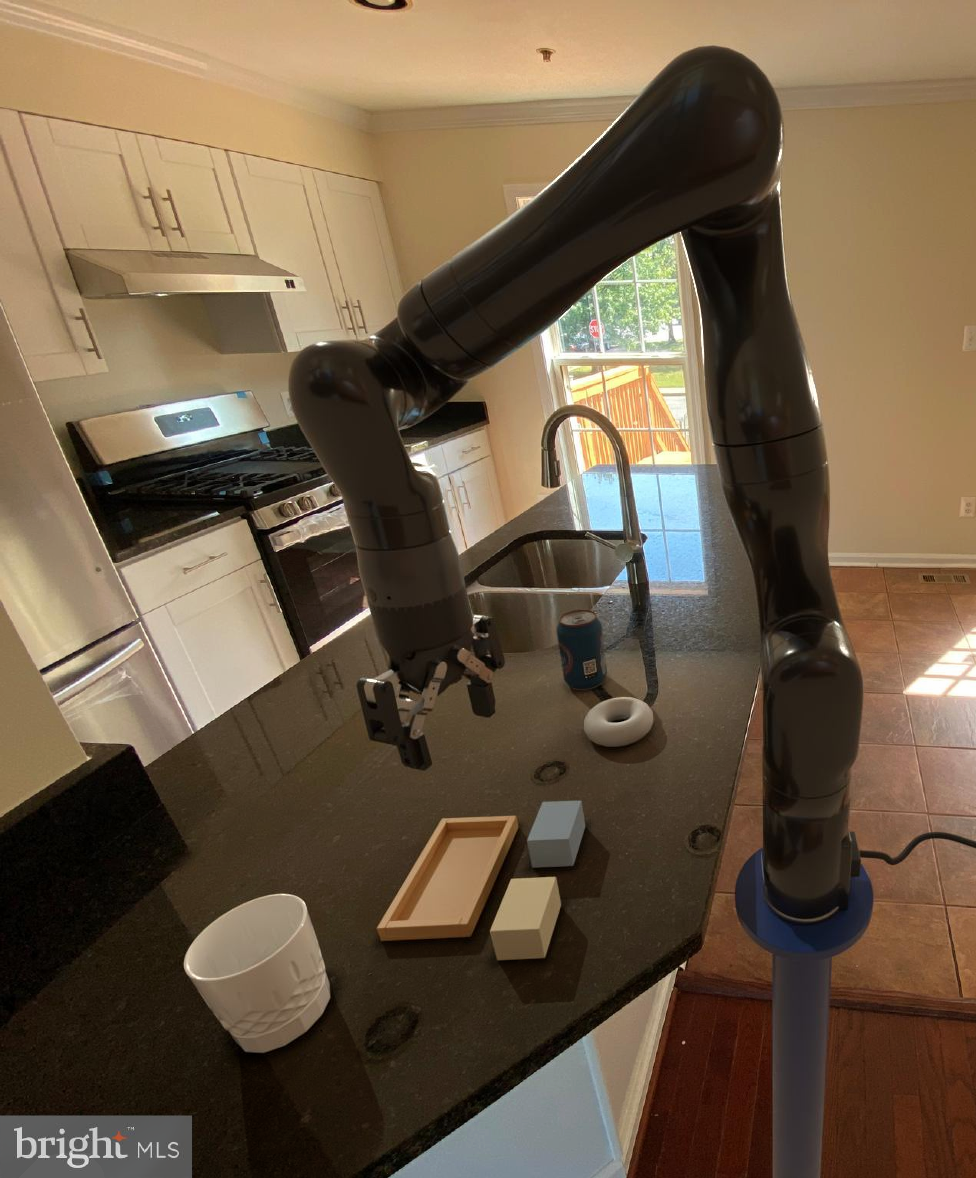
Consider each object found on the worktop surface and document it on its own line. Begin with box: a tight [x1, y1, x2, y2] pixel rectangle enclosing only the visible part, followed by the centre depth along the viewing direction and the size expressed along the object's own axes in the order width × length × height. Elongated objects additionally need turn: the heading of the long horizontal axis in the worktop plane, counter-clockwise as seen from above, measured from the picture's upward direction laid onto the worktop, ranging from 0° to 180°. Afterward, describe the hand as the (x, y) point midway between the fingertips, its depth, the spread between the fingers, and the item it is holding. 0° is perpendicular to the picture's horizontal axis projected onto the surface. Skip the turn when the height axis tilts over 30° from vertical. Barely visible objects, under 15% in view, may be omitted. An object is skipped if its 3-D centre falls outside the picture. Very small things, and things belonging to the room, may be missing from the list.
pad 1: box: [489, 876, 562, 961], centre depth 62 cm, size 4×6×4 cm
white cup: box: [183, 893, 331, 1054], centre depth 54 cm, size 8×8×10 cm
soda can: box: [556, 609, 608, 691], centre depth 103 cm, size 7×7×12 cm
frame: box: [376, 815, 519, 942], centre depth 68 cm, size 9×15×2 cm, turn 3°
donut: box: [583, 696, 654, 748], centre depth 93 cm, size 10×4×10 cm
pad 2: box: [526, 800, 586, 869], centre depth 72 cm, size 4×6×4 cm
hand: (454, 739), depth 61 cm, fingers open, 8 cm apart
